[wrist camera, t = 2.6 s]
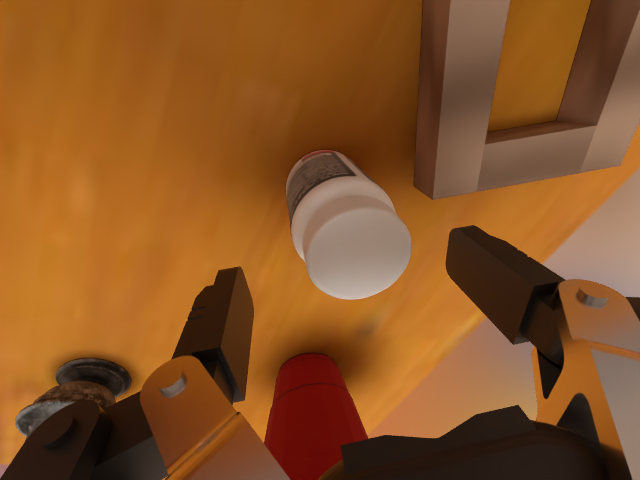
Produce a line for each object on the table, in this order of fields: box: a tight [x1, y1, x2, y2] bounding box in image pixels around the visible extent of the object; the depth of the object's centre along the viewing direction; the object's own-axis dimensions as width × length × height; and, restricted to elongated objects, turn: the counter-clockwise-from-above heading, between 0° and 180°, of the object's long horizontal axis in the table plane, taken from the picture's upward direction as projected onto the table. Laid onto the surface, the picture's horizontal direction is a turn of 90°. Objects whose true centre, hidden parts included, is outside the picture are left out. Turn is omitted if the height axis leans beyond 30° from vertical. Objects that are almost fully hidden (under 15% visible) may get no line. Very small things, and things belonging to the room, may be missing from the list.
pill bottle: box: [286, 150, 412, 299], centre depth 13 cm, size 5×5×8 cm
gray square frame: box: [414, 0, 640, 200], centre depth 14 cm, size 12×12×2 cm
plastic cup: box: [264, 353, 368, 480], centre depth 21 cm, size 11×11×12 cm
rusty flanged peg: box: [15, 358, 131, 441], centre depth 17 cm, size 6×6×12 cm
